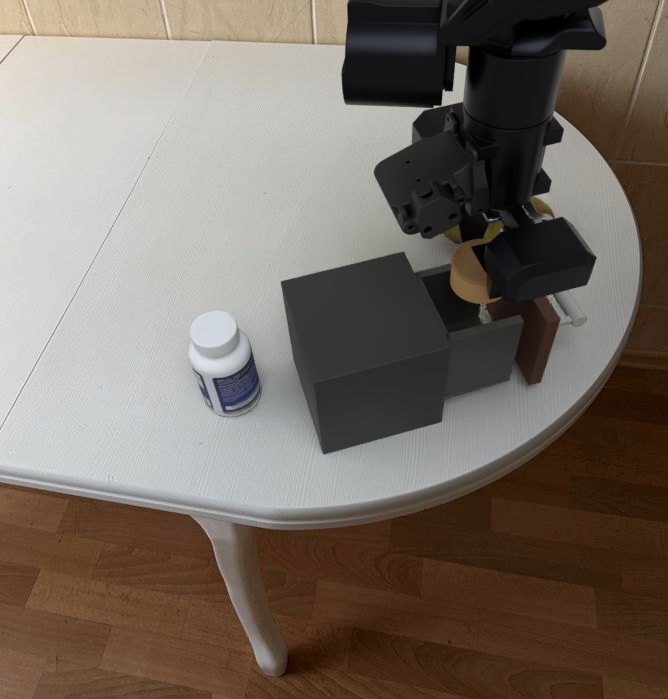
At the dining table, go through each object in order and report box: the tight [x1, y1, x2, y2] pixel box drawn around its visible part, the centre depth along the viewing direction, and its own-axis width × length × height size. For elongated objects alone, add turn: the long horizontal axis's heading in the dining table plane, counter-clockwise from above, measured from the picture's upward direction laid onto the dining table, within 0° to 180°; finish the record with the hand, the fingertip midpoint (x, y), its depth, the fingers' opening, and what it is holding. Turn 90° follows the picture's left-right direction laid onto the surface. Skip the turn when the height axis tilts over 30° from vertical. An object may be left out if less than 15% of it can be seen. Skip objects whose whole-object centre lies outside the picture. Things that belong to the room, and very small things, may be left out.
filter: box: [450, 239, 502, 305], centre depth 57 cm, size 5×5×2 cm
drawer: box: [414, 262, 588, 398], centre depth 62 cm, size 14×10×9 cm
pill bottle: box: [188, 310, 262, 418], centre depth 62 cm, size 5×5×10 cm
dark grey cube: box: [280, 251, 451, 455], centre depth 61 cm, size 11×11×11 cm
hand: (481, 273), depth 57 cm, fingers closed on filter, 5 cm apart
